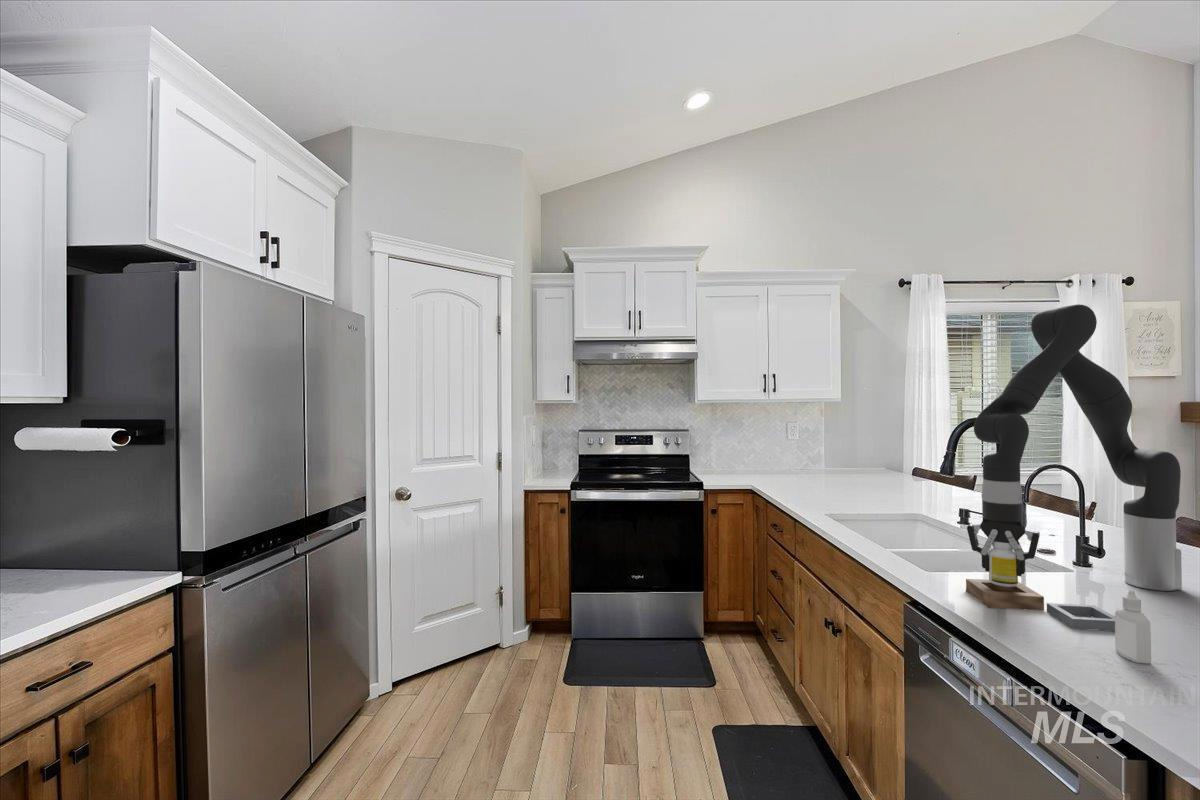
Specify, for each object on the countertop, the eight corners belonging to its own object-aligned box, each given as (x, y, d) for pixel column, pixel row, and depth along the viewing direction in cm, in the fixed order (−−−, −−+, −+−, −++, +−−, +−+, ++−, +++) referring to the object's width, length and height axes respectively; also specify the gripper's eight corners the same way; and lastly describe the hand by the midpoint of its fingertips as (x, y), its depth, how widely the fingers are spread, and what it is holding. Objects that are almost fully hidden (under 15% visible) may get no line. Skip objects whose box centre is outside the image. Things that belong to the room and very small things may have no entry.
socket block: (1017, 593, 134) (1017, 581, 134) (1044, 610, 123) (1043, 596, 123) (966, 591, 136) (966, 578, 136) (988, 607, 125) (987, 594, 125)
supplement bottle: (1023, 588, 126) (1022, 544, 127) (996, 587, 128) (995, 543, 128) (1010, 580, 132) (1009, 538, 132) (984, 579, 133) (984, 538, 133)
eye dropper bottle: (1118, 660, 100) (1116, 592, 100) (1114, 648, 104) (1113, 583, 104) (1152, 666, 97) (1151, 597, 97) (1147, 655, 102) (1146, 588, 102)
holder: (1094, 614, 120) (1094, 605, 120) (1124, 631, 112) (1124, 621, 112) (1046, 612, 122) (1046, 603, 122) (1072, 628, 113) (1072, 618, 113)
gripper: (1042, 500, 128) (1043, 575, 128) (967, 494, 137) (969, 563, 137) (1040, 505, 122) (1041, 583, 122) (962, 498, 132) (963, 571, 132)
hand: (1003, 572), depth 130 cm, fingers closed on supplement bottle, 5 cm apart
